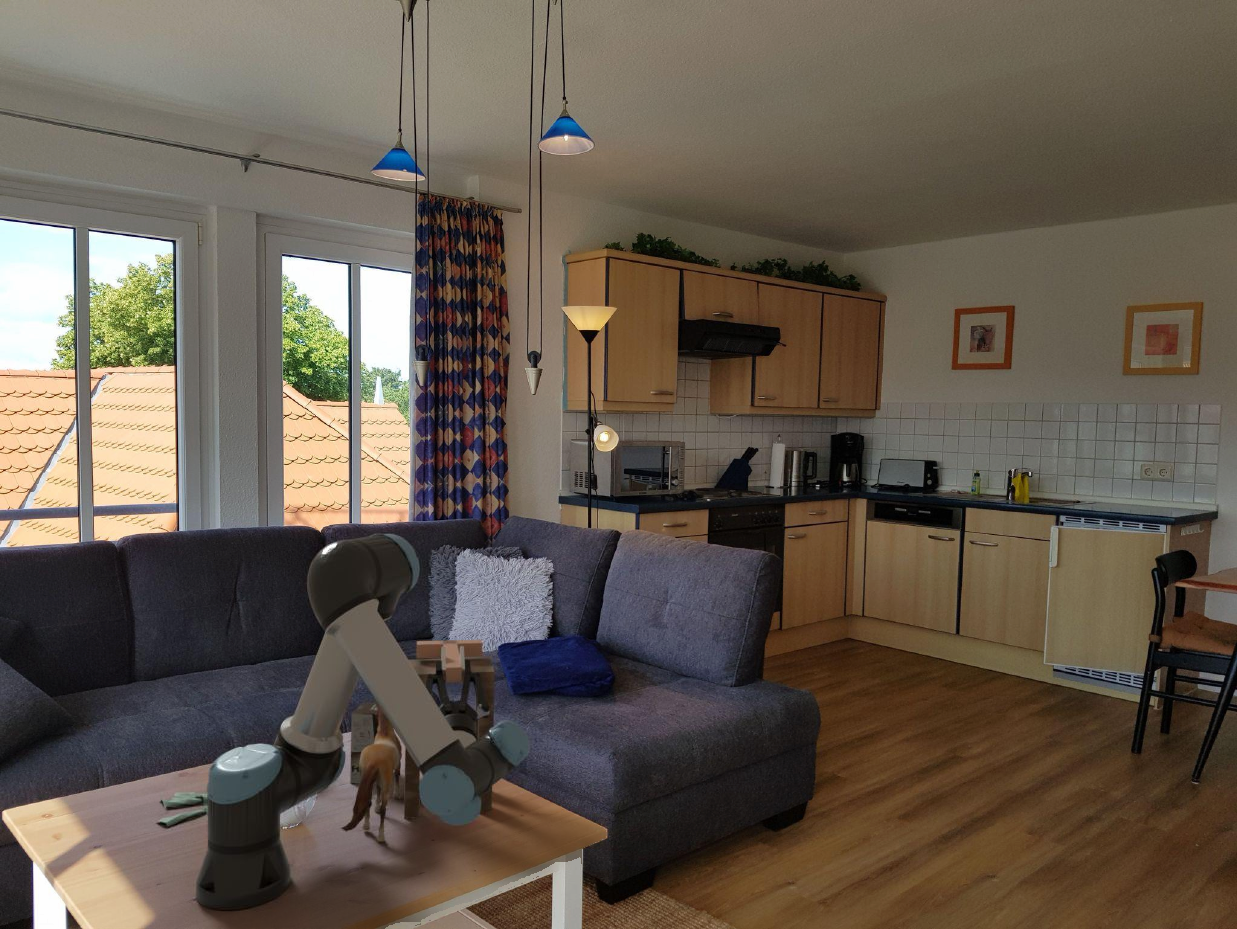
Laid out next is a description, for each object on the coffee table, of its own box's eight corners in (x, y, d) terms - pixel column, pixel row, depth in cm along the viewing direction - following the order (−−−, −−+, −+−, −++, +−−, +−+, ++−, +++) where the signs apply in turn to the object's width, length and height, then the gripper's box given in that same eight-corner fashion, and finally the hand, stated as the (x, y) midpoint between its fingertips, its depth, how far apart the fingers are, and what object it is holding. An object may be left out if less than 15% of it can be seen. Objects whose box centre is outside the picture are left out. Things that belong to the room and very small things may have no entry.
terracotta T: (417, 683, 173) (417, 668, 172) (416, 654, 194) (416, 641, 194) (489, 681, 176) (489, 666, 176) (481, 652, 197) (481, 639, 197)
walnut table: (404, 818, 183) (406, 674, 182) (404, 794, 195) (406, 659, 194) (491, 811, 187) (494, 671, 186) (487, 789, 199) (489, 656, 198)
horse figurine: (376, 790, 197) (377, 699, 196) (411, 790, 197) (412, 699, 196) (339, 859, 166) (341, 750, 165) (381, 858, 166) (383, 750, 165)
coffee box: (377, 784, 200) (378, 713, 199) (349, 783, 200) (350, 713, 199) (388, 768, 209) (389, 701, 208) (361, 768, 209) (362, 700, 209)
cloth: (246, 824, 180) (246, 812, 180) (123, 843, 171) (123, 831, 171) (242, 786, 199) (242, 776, 199) (131, 802, 189) (131, 791, 189)
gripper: (410, 758, 162) (411, 665, 182) (498, 754, 166) (490, 663, 185) (411, 730, 158) (412, 638, 178) (501, 726, 162) (493, 636, 181)
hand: (452, 651), depth 181 cm, fingers closed on terracotta T, 3 cm apart
